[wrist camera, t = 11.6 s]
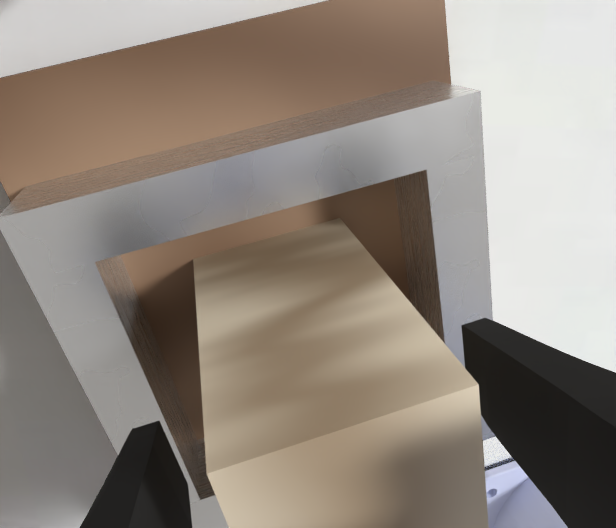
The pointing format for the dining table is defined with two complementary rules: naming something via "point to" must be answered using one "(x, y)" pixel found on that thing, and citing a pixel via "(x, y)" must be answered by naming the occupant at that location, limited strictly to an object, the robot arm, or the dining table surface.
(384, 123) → the collar board
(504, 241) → the dining table surface
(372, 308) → the peg
